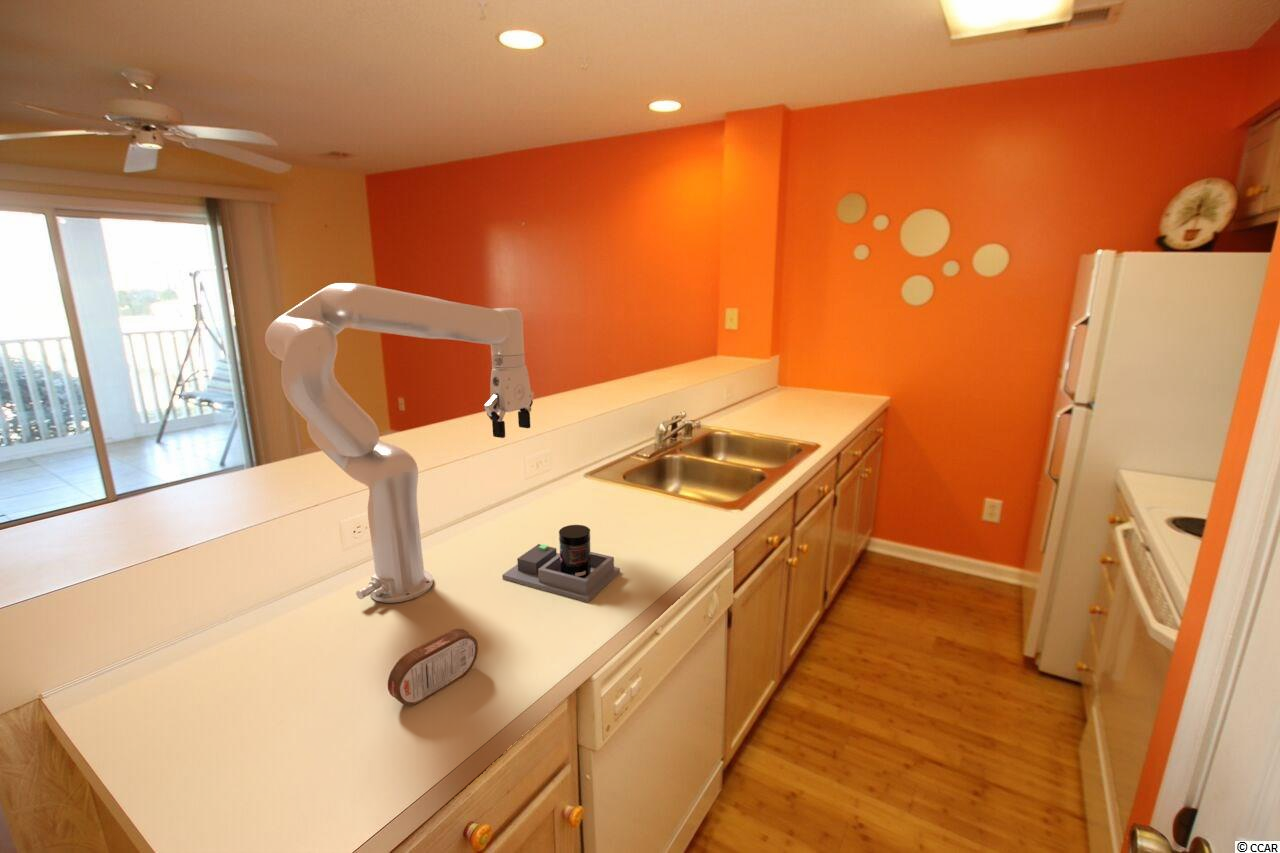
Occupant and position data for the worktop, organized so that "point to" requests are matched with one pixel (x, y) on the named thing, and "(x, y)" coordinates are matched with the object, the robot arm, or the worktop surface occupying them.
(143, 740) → the worktop surface
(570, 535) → the supplement container
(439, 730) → the worktop surface
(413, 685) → the tin
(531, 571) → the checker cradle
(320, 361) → the robot arm
